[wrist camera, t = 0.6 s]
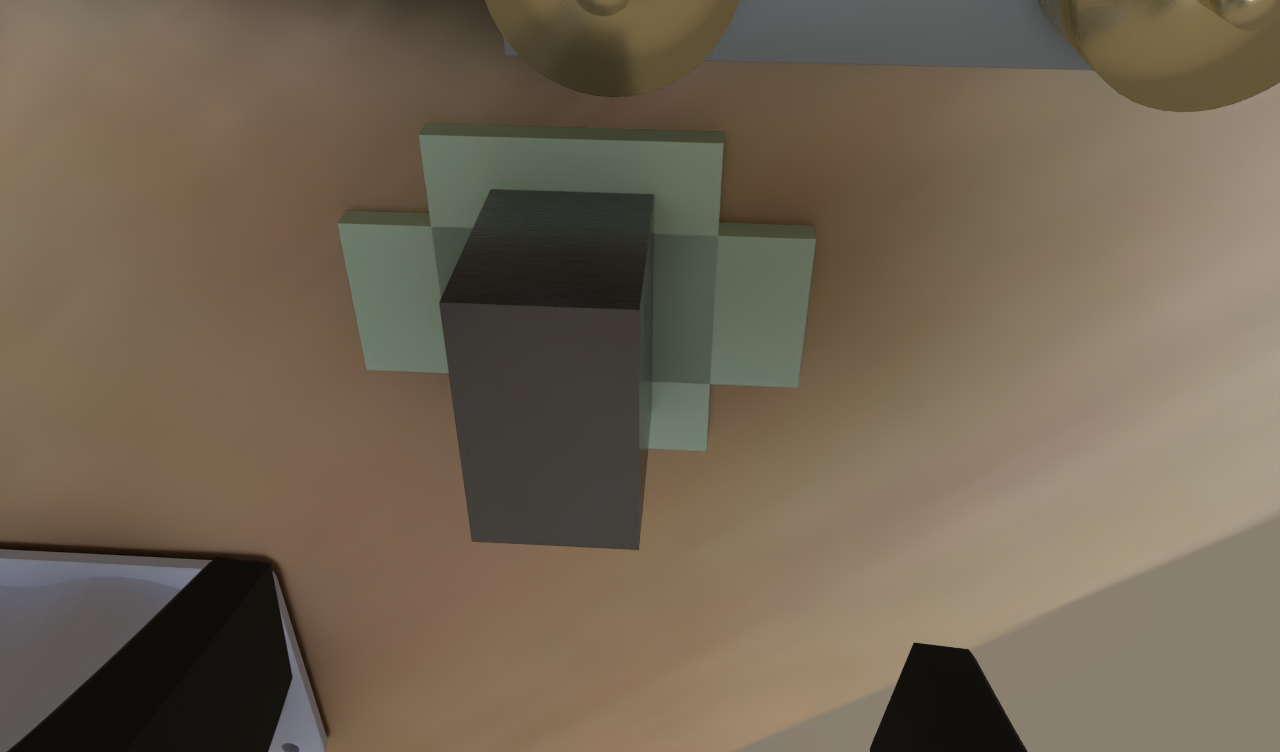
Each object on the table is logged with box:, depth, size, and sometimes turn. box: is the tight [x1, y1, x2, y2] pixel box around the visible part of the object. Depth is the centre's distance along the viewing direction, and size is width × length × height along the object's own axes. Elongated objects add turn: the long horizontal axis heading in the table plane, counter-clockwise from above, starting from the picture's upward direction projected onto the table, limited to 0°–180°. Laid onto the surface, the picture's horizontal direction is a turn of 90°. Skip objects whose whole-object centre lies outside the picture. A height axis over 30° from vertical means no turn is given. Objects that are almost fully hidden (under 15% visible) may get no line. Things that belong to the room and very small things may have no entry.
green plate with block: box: [337, 124, 816, 550], centre depth 18 cm, size 9×7×5 cm
